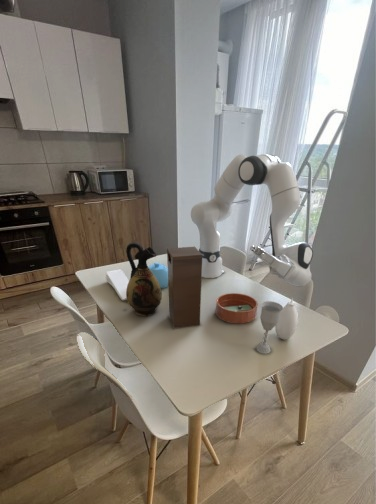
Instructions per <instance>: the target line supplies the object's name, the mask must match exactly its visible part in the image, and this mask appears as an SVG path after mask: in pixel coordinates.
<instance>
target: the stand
mask: <svg viewBox="0 0 376 504" xmlns="http://www.w3.org/2000/svg"><path fill="white" fill-rule="evenodd" d="M166 259H167V260H166V261H167V264H166V265H167V269H168V287H167V290H168V292H167V294H168V317H169V320H170V322H171V324H172V327H173V329H181V328H185V327H186V328H187V327H194V326H200V325H201V303H202V301H201V299H202V278H203V277H202V254H201V253H200V252H199V249H198V248H197V247H196V246H184V247H183V246H182V247H170V248H169V247H168V248H166Z"/></svg>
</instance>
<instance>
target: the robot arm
mask: <svg viewBox="0 0 376 504" xmlns="http://www.w3.org/2000/svg"><path fill="white" fill-rule="evenodd" d="M245 185H246V186H261V185H266V186H267V188H268V190H269V195H270V200H271V213H270V215H269V228H270V229H269V230H270V231H269V232H270V240H271V251H272V252H271V253H270V252H268V251H267V250H265V249H263V248H262V247H261V246H258V245H257V246H254V245H250V247H249V250H250V251H251V252H252V254H253V255H254V256H255V257H257V258H259V259H260V260H261V261H262V262H264V263H265V264H266V265H268V268H269V272H270V274H271V275H273V276H274V277H277V278H278V279H280V280H283V281H284V282H285V283H287V284H289V285H291V286H293V287H295V288H301V287H304V286H306V285H308V284H309V283H310V281H311V280H312V272H311V262H312V260H313V257H314V251H313V248H312V246H311V245H310V244H309V243H308V242H306V241H301V242H297V243H294V244H290V245H286V237H285V224H286V222H287V221H288V219H289V218H290V217H291V216H292V215H293V214H294V213H295V212H296V211H297V209H298V208H299V205H300V204H301V192H300V187H299V183H298V179H297V177H296V174H295V171H294V169H293V166H292V165H291V164H290V163H289V162H283V161H281V159H280V158H279V157H278V156H276V155H273V154H256V155H250V156H247V155H245V154H238V155H236V156H235V157H234V158H233V159H232V160H231V162H229V164H227V166H226V168H225V169H224V171H223V172H222V173H221V175H220V177H219V178H218V180H217V182H216V183H215V185H214V193H215V194H214V196H213V198H211V199H209V200H205V201H200V202H198V203H197V204H194V205H193V206H192V208H191V210H190V218H191V221H192V222H193V224H195V226H197V229H198V233H199V249H198V251H199V252H200V253H201V254H202V277H201V278H203V279H214V278H219V277H220V276H221V275H222V274H224V273H225V270H224V269H223V259H222V257H221V234H220V232H219V231H217V227H216V223H220V222H223V221H226V220H227V219H228V218H229V217H230V216H231V213H232V210H233V209H232V205H233V203H234V201H235V199H236V197H238V194H239V193H240V191H241V190H242V188H243V187H244V186H245Z"/></svg>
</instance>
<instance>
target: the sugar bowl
mask: <svg viewBox="0 0 376 504" xmlns="http://www.w3.org/2000/svg"><path fill="white" fill-rule="evenodd" d="M148 267H149V269H150V270H151V271H152V273H153V274H154V276H155V277H156V279H157V280H158V282H159V285H160V288H161V290H162V289H166V288H168V266H166V265H165V264H163V263H160V262H154V263H152V264H150V265H148Z"/></svg>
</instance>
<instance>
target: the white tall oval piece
mask: <svg viewBox="0 0 376 504" xmlns="http://www.w3.org/2000/svg"><path fill="white" fill-rule="evenodd" d="M298 325H299V313H298V309H297V307H296V303H295V302H294V296H291V300H290V301H287V303H286V305H284V306H283V309H282V310H281V312H280V316H279V321H278V322H277V324H276V325H275V326H274V329H275V334H276V336H277V337H278V338H279V339H281V340H288V339H290V338H292V337H293V335H294V334H295V333H296V331H297V328H298Z"/></svg>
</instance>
